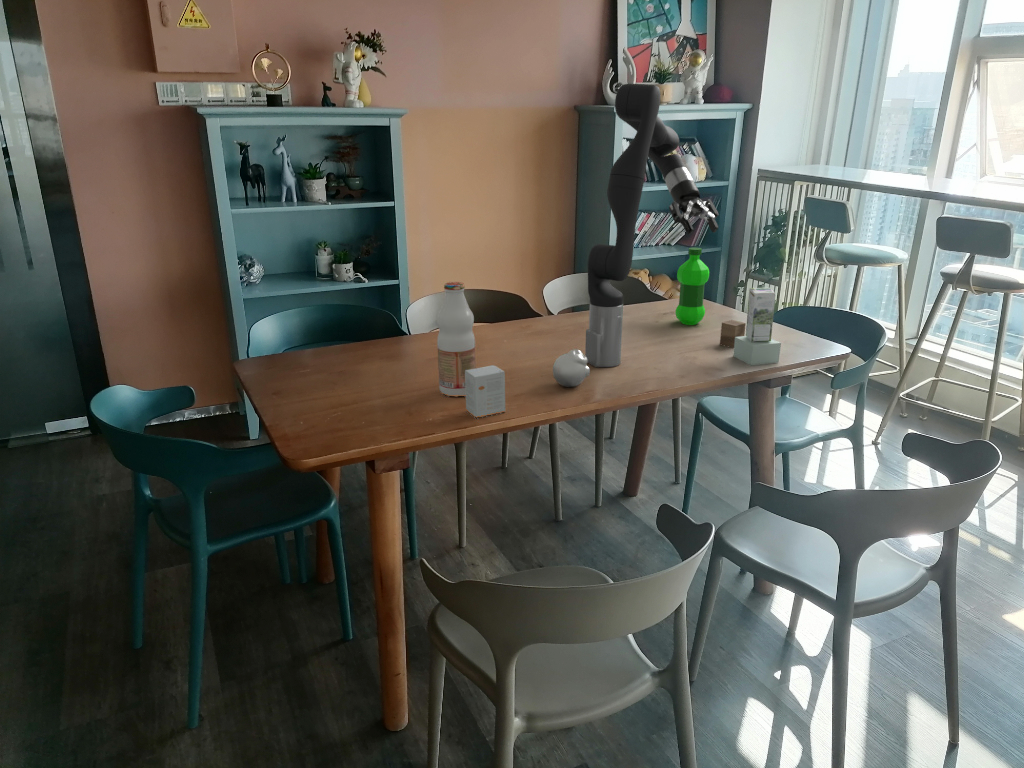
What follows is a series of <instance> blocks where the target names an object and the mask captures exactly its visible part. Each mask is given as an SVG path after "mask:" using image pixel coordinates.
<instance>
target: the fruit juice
mask: <svg viewBox="0 0 1024 768" xmlns="http://www.w3.org/2000/svg"><path fill="white" fill-rule="evenodd" d="M443 285H444V287H443V288H444V292H445V294H444V298H443V301H442V304H441V307H440V309H439V311H438V313H437V316H436V322H437V323H436V324H437V326H438V330H439V331H438V335H437V338H436V339H437V342H436V344H437V363H438V367H437V369H438V386H439V387H438V389H439V392H440V391H441V392H442V393H444V394H448V395H466V391H465V370H470V369H476V367H477V366H476V339H475V335H474V332H473V327H474V323H475V322H474V321H475V317H474V313H473V311H472V310H471V309H470V306H469V304H468V301H467V299H466V296H465V294H464V291H465V284H464V283H463V282H460V281H449V282H445V283H444V284H443ZM441 392H440V393H441Z"/></svg>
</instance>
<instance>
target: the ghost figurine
mask: <svg viewBox="0 0 1024 768" xmlns="http://www.w3.org/2000/svg"><path fill="white" fill-rule="evenodd" d="M587 364H588V363H587V358H586V356H585V354H584V353H583V352H582V351H581V350H580V349H577V348H576V349H575V348H574V349H571V350H570V351H568V353H567V352H566V353H564V354H561V355H560V356H559V357H557V358H556V360H555V361H554V363H553V366H552V374H553V377H554V379H555V381H556V382H557V383H558V384H559V385H561V386H563V387H566V388H574V387H577V386H579V385H581V383H582V382H584V380H585V379H586V378H587V377H589V375H590V373H591V372H590V371H591V370H590V367H589V366H588V365H587Z"/></svg>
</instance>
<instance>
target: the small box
mask: <svg viewBox="0 0 1024 768" xmlns="http://www.w3.org/2000/svg"><path fill="white" fill-rule="evenodd" d="M505 374H506V373H505V371H504V370H502V369H501V368H499V367H498V366H496V365H495V364H494V365H487V366H483V367H477V368H476V369H470V370H465V391H466V396H465V410H466V409H467V410H468V411H469V412H470V413H472V414H473V415H474V416H476V417H477V416H481V415H487V414H491V413H496V412H501V411H505V412H506V379H505V378H506V375H505Z"/></svg>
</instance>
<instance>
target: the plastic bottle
mask: <svg viewBox="0 0 1024 768" xmlns="http://www.w3.org/2000/svg"><path fill="white" fill-rule="evenodd" d="M687 251H688V253H687V255H689V258H688V259H687V260H686V261H685V262H684V263H682V264H681V265H680V266H679V267H678V269H677V272H676V274H677V275H676V278H677V281H678V282H679V283H680V284H679V285H680V287H679V296H678V297H679V299H678V304H677V307H676V309H675V317H676V318H677V319H678V321H679V322H681V324H683V325H687V326H695V325H697V324H698V323H700V322H701V321H703V319H704V317H705V314H706V308H705V306H704V297H705V295H704V293H705V284H707V282H708V281H709V278H710V269H709V267H708V266H707V264H705V263H704V262H703V261H702V259H700V256H702V251H703V248H700V247H689V248H688V249H687Z"/></svg>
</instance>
